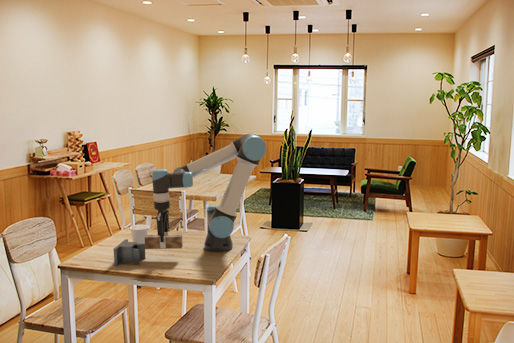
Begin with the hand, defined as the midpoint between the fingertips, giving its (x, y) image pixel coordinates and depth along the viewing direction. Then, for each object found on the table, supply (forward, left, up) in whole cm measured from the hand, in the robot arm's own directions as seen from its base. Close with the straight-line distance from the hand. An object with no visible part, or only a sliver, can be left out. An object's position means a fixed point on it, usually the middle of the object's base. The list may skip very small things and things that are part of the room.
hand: (164, 246), depth 253 cm
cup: (+19, -17, -7) cm, 26 cm away
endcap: (+16, +5, -6) cm, 18 cm away
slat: (0, 0, -1) cm, 1 cm away
